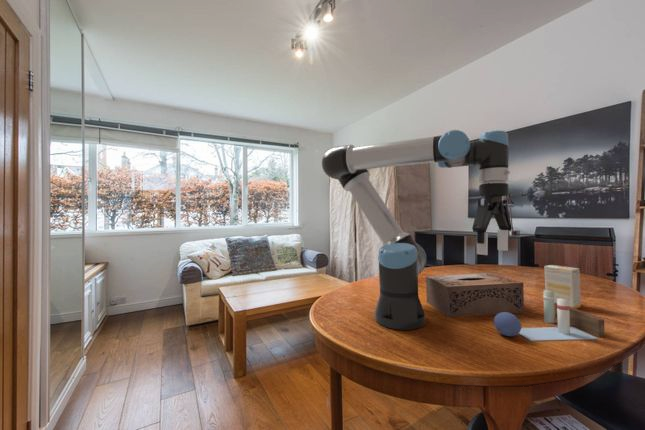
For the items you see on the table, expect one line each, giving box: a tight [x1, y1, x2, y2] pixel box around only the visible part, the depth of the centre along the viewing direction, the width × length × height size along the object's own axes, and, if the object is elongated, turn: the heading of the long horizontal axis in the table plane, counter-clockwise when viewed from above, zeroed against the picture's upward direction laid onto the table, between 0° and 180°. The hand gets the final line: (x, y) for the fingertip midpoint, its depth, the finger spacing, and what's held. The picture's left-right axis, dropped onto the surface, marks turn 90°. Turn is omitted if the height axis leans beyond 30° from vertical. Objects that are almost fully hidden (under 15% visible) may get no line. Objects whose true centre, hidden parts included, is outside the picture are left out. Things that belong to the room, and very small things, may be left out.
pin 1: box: [542, 289, 556, 324], centre depth 78 cm, size 2×2×9 cm
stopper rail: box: [554, 303, 606, 338], centre depth 75 cm, size 2×13×4 cm, turn 0°
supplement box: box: [543, 264, 582, 309], centre depth 92 cm, size 8×5×13 cm, turn 22°
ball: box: [493, 312, 522, 337], centre depth 71 cm, size 6×6×6 cm
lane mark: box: [518, 326, 599, 342], centre depth 71 cm, size 17×7×1 cm, turn 90°
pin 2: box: [556, 299, 571, 335], centre depth 71 cm, size 2×2×9 cm
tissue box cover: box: [425, 272, 525, 318], centre depth 93 cm, size 26×14×10 cm, turn 94°
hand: (492, 252), depth 82 cm, fingers open, 13 cm apart
